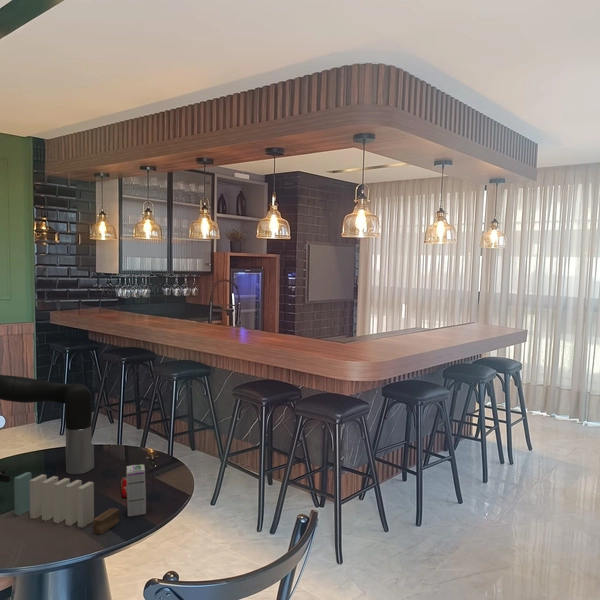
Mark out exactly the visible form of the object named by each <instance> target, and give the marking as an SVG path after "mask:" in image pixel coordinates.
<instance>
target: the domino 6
mask: <svg viewBox="0 0 600 600" xmlns="http://www.w3.org/2000/svg"><path fill="white" fill-rule="evenodd" d="M94 491H95V483H94V482H93V481H87V482H85V483H83V484H82V486H80V487H78V488H77V497H78V521H77V528H85V527H86V526H88V525H90V524H91V523H93V519H95V493H94Z"/></svg>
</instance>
